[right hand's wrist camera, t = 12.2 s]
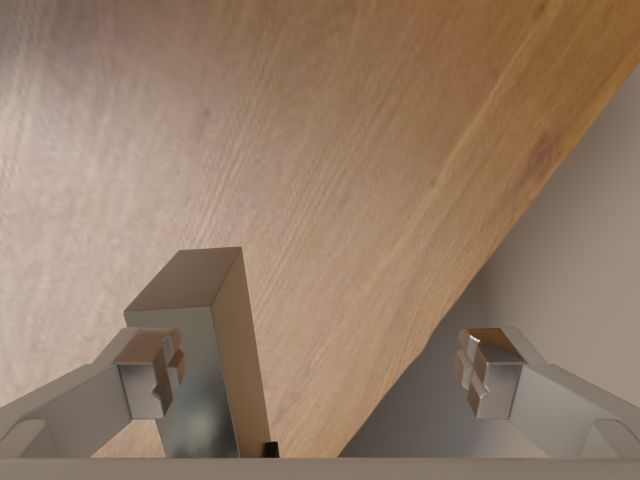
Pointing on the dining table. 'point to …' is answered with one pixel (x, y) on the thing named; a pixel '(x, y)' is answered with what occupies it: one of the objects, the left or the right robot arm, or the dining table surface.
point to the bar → (208, 355)
